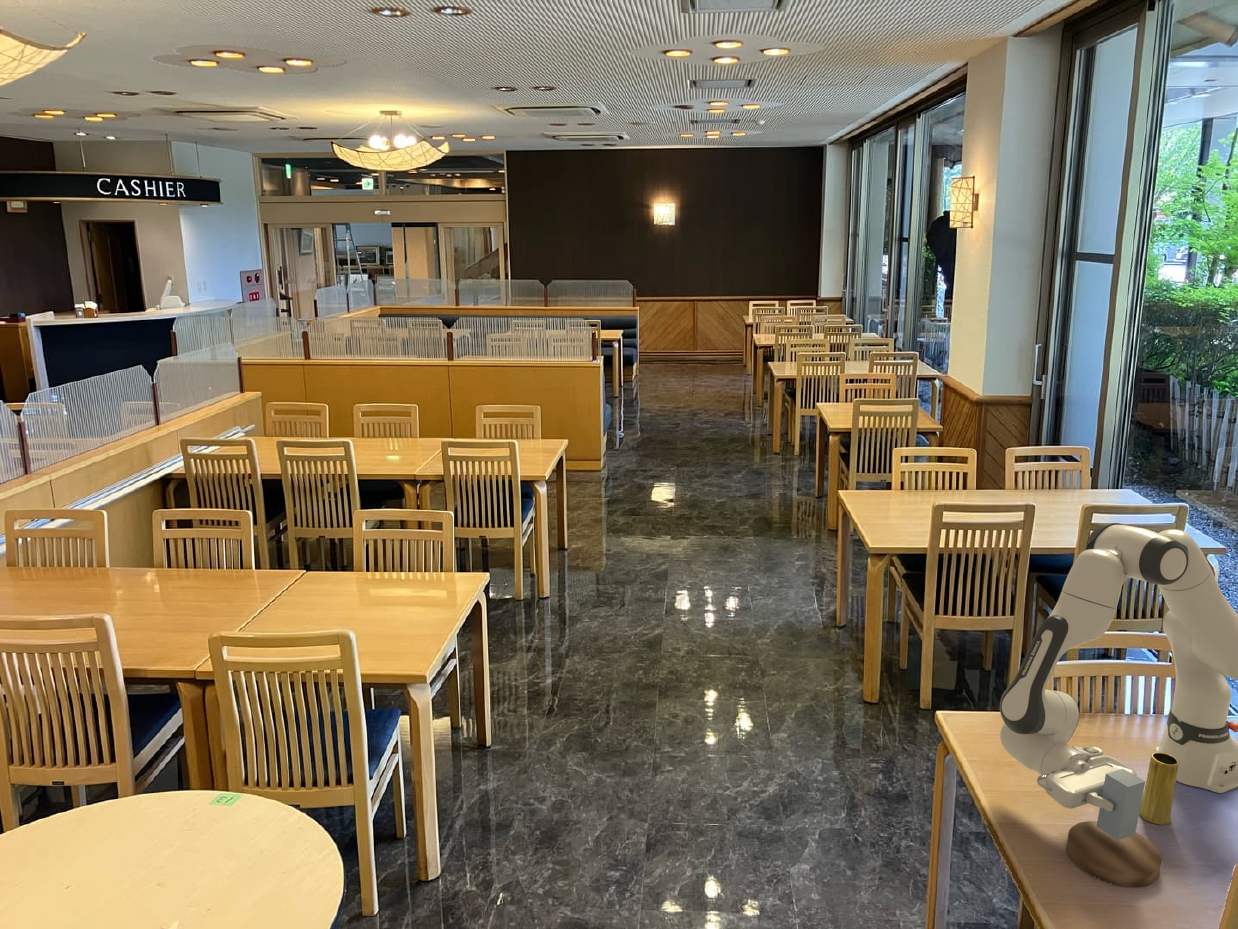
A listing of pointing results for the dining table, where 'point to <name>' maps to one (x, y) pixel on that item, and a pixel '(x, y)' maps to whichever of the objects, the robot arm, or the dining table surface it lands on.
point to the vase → (1159, 788)
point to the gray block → (1121, 804)
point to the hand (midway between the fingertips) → (1125, 804)
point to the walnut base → (1113, 856)
